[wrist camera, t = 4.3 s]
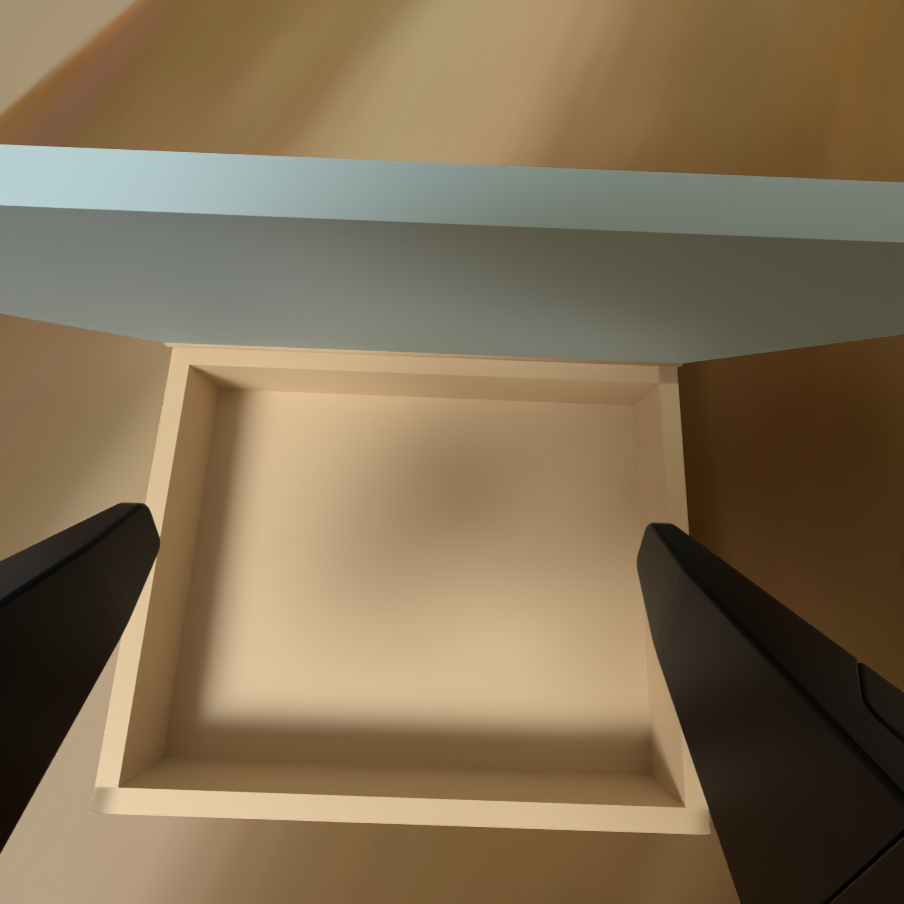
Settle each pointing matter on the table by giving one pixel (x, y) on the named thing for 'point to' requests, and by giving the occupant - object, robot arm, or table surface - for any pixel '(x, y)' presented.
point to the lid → (445, 256)
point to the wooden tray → (403, 597)
